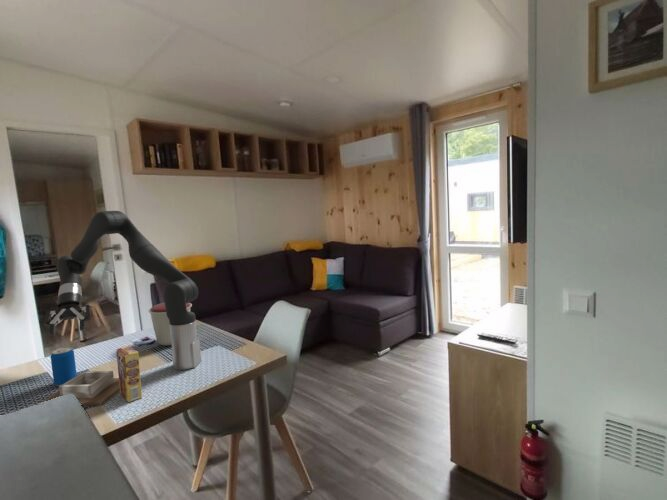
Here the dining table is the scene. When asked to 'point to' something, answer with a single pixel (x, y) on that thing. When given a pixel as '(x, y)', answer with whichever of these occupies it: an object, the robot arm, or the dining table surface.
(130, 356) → the candy box
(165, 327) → the canister
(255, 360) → the dining table surface
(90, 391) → the guard socket
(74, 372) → the beverage can
